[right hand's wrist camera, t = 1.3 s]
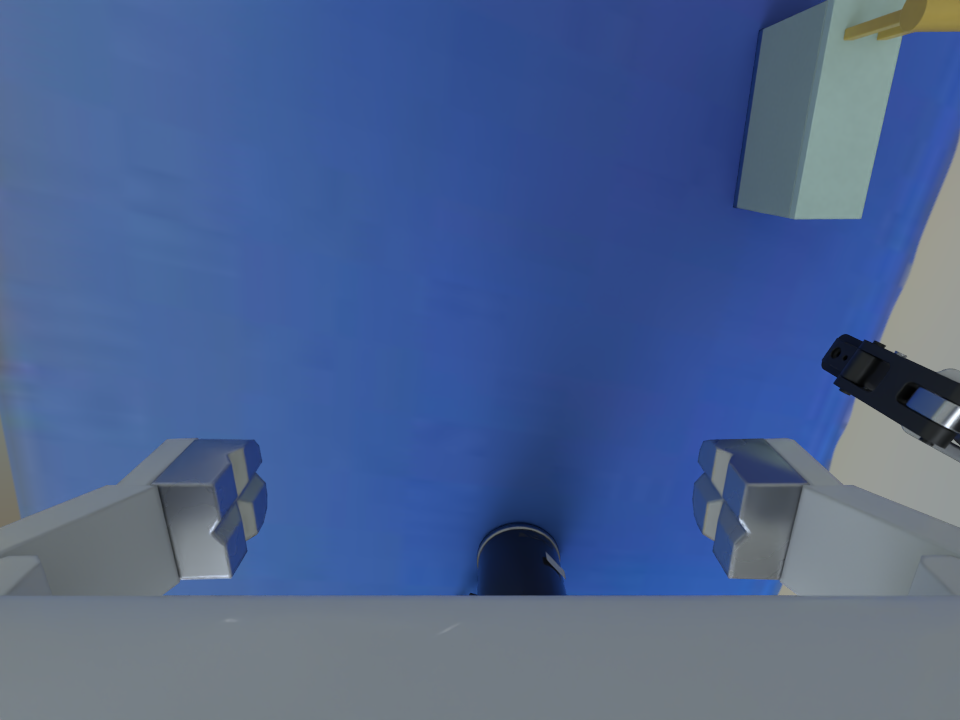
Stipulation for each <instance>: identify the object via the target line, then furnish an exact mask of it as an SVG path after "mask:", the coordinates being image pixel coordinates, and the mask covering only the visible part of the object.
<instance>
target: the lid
mask: <svg viewBox="0 0 960 720" xmlns="http://www.w3.org/2000/svg"><path fill="white" fill-rule="evenodd" d="M913 32H960V0H828V6H827V11H826V17H825V22H824V28H823V33H822V39H821V44H820V50H819V55H818V61H817V66H816V72H815V77H814V83H813V88H812V94H811V99H810V105H809V110H808V116H807V121H806V127H805V132H804V138H803V143H802V149H801V154H800V160H799V165H798V171H797V176H796V182H795V187H794V193H793V198H792V204H791V209H790V215H789V218H791V219H861V217H862V213H863V208H864V204H865V199H866V195H867V190H868V186H869V182H870V177H871V173H872V168H873V164H874V159H875V155H876V151H877V146H878V142H879V137H880V133H881V128H882V124H883V120H884V115H885V111H886V106H887V102H888V97H889V93H890V88H891V84H892V80H893V75H894V71H895V66H896V62H897V57H898V53H899V49H900V44H901V40H902V36H903V35H906V34H909V33H913Z"/></svg>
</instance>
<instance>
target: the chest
mask: <svg viewBox="0 0 960 720" xmlns="http://www.w3.org/2000/svg"><path fill="white" fill-rule="evenodd" d="M827 6H828V0H827V1H825V2H823V3H820V4H818V5H816V6H814V7H811V8H809V9H807V10H805V11H803V12H800V13H798V14H796V15H794V16H791V17H789V18H787V19H785V20H783V21H780V22H778V23H776V24H774V25H771V26H769V27H767V28H765V29H762V30H759V35H758V41H757V48H756V55H755V62H754V69H753V76H752V82H751V89H750V96H749V103H748V110H747V116H746V123H745V130H744V137H743V144H742V150H741V157H740V164H739V171H738V178H737V185H736V191H735V198H734V205H733V207H735V208H741V209H746V210H751V211H756V212H761V213H766V214H771V215H776V216H781V217H786V218H789V215H790V209H791V204H792V198H793V193H794V187H795V182H796V176H797V171H798V165H799V160H800V154H801V149H802V143H803V138H804V132H805V127H806V121H807V116H808V110H809V105H810V99H811V94H812V88H813V83H814V77H815V72H816V66H817V61H818V55H819V50H820V44H821V39H822V33H823V28H824V22H825V17H826V11H827Z"/></svg>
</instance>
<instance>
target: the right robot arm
mask: <svg viewBox="0 0 960 720" xmlns="http://www.w3.org/2000/svg"><path fill="white" fill-rule="evenodd" d="M261 463H262V458H261V453H260V448H259V445H258V444H257V443H256V441H255V440H242V439H198V438H184V439H167V440H166V441H165V442H164V443H162V444H161V445H160V446H159V447H158V448H157V449H156V450H155V451H154V452H152V453H151V454H150V455H149V456H148V457H147V458H146V459H145V460H144V461H142V462H141V463H140V464H139V465H138V466H137V467H136V468H135V469H134V470H132V471H131V472H130V473H129V474H128V475H127V476H126V477H125V478H124V479H122V480H121V481H120V482H119V483H118V484H117V485H106V486H104V487H101V488H99V489H96V490H94V491H91V492H89V493H86V494H84V495H81V496H79V497H76V498H74V499H71V500H69V501H66V502H64V503H61V504H58V505H56V506H53V507H51V508H48V509H46V510H43V511H41V512H38V513H36V514H33V515H31V516H28V517H26V518H23V519H21V520H18V521H16V522H13V523H11V524H8V525H6V526H3V527H1V528H0V720H960V528H959V527H957V526H954V525H951V524H949V523H946V522H944V521H941V520H939V519H936V518H934V517H932V516H929V515H926V514H924V513H921V512H919V511H916V510H914V509H911V508H909V507H906V506H904V505H901V504H899V503H896V502H894V501H891V500H889V499H886V498H884V497H881V496H879V495H876V494H874V493H871V492H869V491H866V490H864V489H861V488H859V487H856V486H854V485H843V484H842V483H841V482H840V481H839V480H838V479H836V478H835V477H834V476H833V475H832V474H831V473H830V472H829V471H828V470H826V469H825V468H824V467H823V466H822V465H821V464H820V463H819V462H818V461H817V460H815V459H814V458H813V457H812V456H811V455H810V454H809V453H808V452H807V451H805V450H804V449H803V448H802V447H801V446H800V445H799V444H798V443H797V442H795V441H794V440H792V439H788V438H775V439H724V440H707V441H703V444H702V446H701V448H700V452H699V457H698V463H699V464H700V466H701V467H702V469H703V471H704V473H703V474H702V475H701V477H700V478H699V479H698V480H697V481H696V482H695V483H694V490H693V510H694V516H695V519H696V522H697V525H698V527H699V528H700V530H701V532H702V534H703V535H705V536H707V537H708V538H710V539H711V540H713V541H714V546H713V553H714V554H715V556H716V558H717V559H718V561H719V563H720V564H721V566H722V568H723V569H724V571H725V573H726V574H727V576H728V578H736V579H773V580H780V582H781V583H782V584H784V585H785V586H786V587H788V588H789V589H790V590H792V591H793V592H794V593H796V594H797V595H795V596H794V595H790V596H789V595H787V596H786V595H718V596H162V595H163V594H165V593H166V592H167V591H169V590H170V589H171V588H173V587H174V586H175V585H177V584H178V583H179V582H180V580H187V579H223V578H232V576H233V575H234V573H235V571H236V570H237V568H238V566H239V564H240V563H241V561H242V559H243V558H244V556H245V554H246V553H247V546H246V541H247V540H249V539H250V538H252V537H253V536H255V535H257V534H258V532H259V530H260V528H261V527H262V525H263V523H264V519H265V514H266V510H267V489H266V483H265V482H264V481H263V480H262V479H261V478H260V477H259V475H258V474H257V473H256V471H257V469H258V467H259V466H260V464H261Z"/></svg>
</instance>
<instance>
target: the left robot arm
mask: <svg viewBox="0 0 960 720" xmlns="http://www.w3.org/2000/svg"><path fill="white" fill-rule="evenodd" d="M885 347H886V346H885V345H883V344H881V343H879V342H877V341H875V340H874V342H873V343H871V342H869V341H867V340H864V341H860V340H858V339H856V338H854V337H852V336H850V335H847V334H844V335H842V336H840V337H839V338H837V339H836V340H835V342H834V343H833V345H832V346H831V348H830V349H829V350H828V352H827V353H826V355H825V356H824V358H823V359H822V368H823V369H824V370H826V371H827V372H829V373H831V374H832V375H834V376H836V377H837V379H836V380H835V382H834V383H833V384H835V385H836V386H838V387H840V389H839V390H840V391H841V392H843V393H845V394H847V395H853V396H854V397H856V398H858V399H859V400H861V401H863V402H864V403H866V404H868V405H869V406H871V407H872V408H874V409H876V410H877V411H879V412H881V413H882V414H884V415H886V416H887V417H889V418H890V419H892V420H894V421H895V422H897V423H899V424H900V425H901V426H902V429H903V430H904V431H905V432H906V433H907V434H909V435H911V436H913V437H915V438H916V439H918V440H920V441H922V442H924V443H925V444H927V445H929V446H931V447H933V448H935V449H936V450H938V451H940V452H942V453H944V454H945V455H947V456H949V457H951V458H953V459H955V460H956V461H958V462H960V447H959V446H958V445H956V444H954V443H952V442H951V441H952V440H953V439H954V440H955V441H956V442H957V443H958V444H959V445H960V371H959V370H956V369H945V370H942V371H940V372H934V371H932V370H930V369H928V368H925V367H923V366H921V365H919V364H917V363H915V362H912V361H910V360H908V359H906V357H907V356H906V355H904V354H902V353H899V352H897V351H895V353H893V352H891V351H888V350H886V349H884V348H885ZM477 566H478V595H476V594H473V593H470V594H469V596H566V591H565V586H564V581H563V577H564V578H565V573H564V570H563V569H562V568H561V566H560V555H559V550H558V547H557V544H556V542H555V541H554V539H553V538H552V537H551V536H550V534H548V533H547V532H546V531H544V530H543V529H541V528H539V527H537V526H534V525H530V524H525V523H513V524H508V525H504V526H501V527H499V528H497V529H495V530H493V531H492V532H490V533H489V534H488V535H487V536H486V537H485V538H484V539H483V541H482V542H481V544H480V546H479V549H478V554H477ZM565 579H566V578H565Z"/></svg>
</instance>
